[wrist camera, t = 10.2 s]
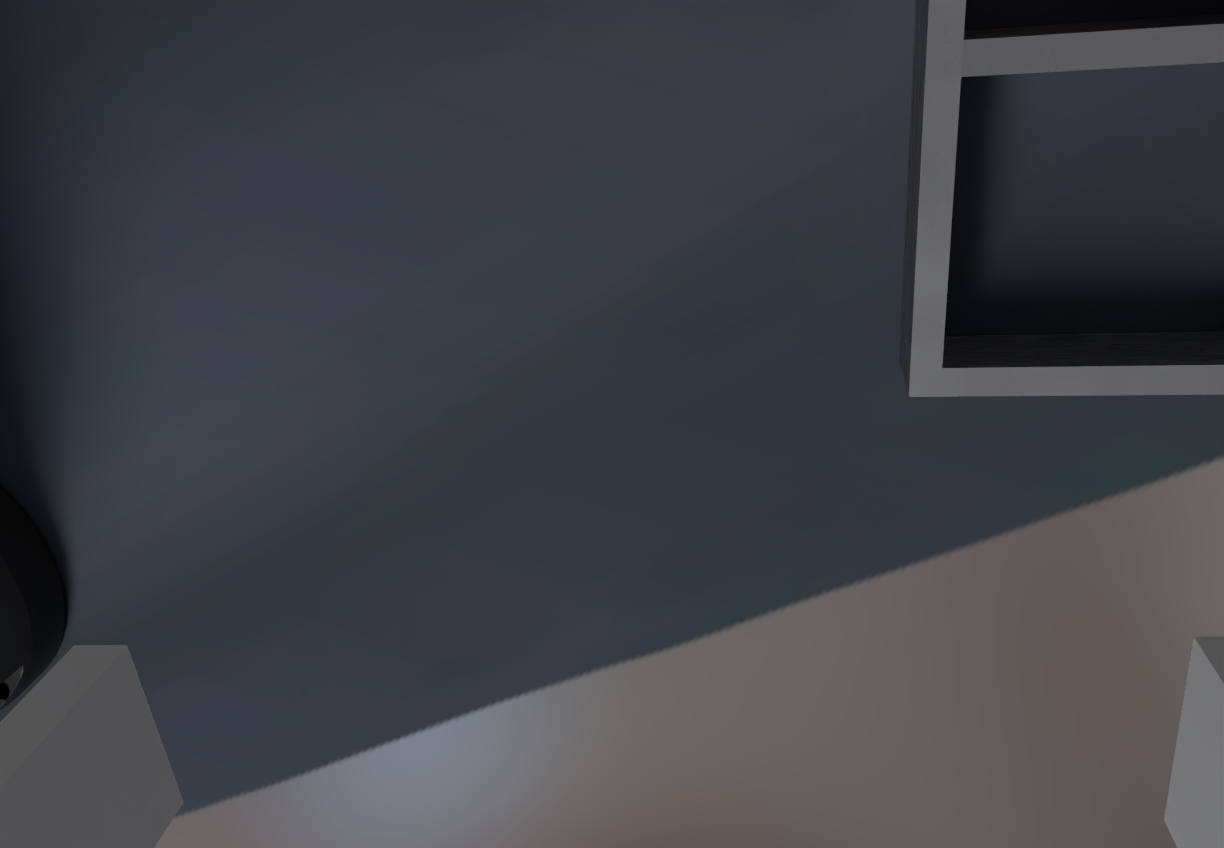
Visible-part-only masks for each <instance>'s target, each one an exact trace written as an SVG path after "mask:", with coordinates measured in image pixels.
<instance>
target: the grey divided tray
mask: <svg viewBox="0 0 1224 848" xmlns="http://www.w3.org/2000/svg"><path fill="white" fill-rule="evenodd" d="M965 10H966V0H917V1H916V23H915V44H914V66H913V88H912V109H911V131H910V152H909V174H908V196H907V217H906V239H905V260H904V282H903V304H902V325H901V347H900V366H901V369H902V373H903V377H904V381H905V384H906V388H907V392H908V395H909V397H935V396H1073V395H1211V394H1224V331H1199V332H1139V333H1079V334H1020V335H960V336H944V334H945V318H946V303H947V287H948V272H949V257H950V241H951V226H952V210H953V195H954V179H955V164H956V149H957V133H958V118H959V102H960V87H961V77H970V76H987V75H1005V74H1022V73H1040V72H1057V71H1075V70H1092V69H1110V68H1127V67H1145V66H1162V65H1180V64H1197V63H1215V62H1224V14H1210V15H1195V16H1179V17H1164V18H1148V19H1133V20H1117V21H1102V22H1086V23H1070V24H1055V25H1039V26H1024V27H1008V28H993V29H977V30H964V25H965Z"/></svg>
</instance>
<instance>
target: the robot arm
mask: <svg viewBox="0 0 1224 848" xmlns="http://www.w3.org/2000/svg"><path fill="white" fill-rule="evenodd" d="M64 623H65V605H64V597H63V591H62V587H61V582H60V579H59V576H58V573H57V570H56V567H55V565H54V562H53V560H52V557H51V555H50V553H49V551H48V549H47V547H46V545H45V544H44V542H43V540H42V538H41V537H40V535H39V533H38V532H37V530H36V529H35V527H34V526H33V524H32V523H31V522H30V520H29V519H28V518H27V516H26V515H25V514H24V513H23V511H22V510H21V509H20V508H19V506H18V505H17V504H16V503H15V502H14V501H13V500H12V499H11V497H10V496H9V495H8V494H7V493H6V492H5V491H4V490H3V489H2V488H1V487H0V710H1V709H3V708H4V707H6V706H7V705H8V704H10V703H11V702H12V701H13V700H15V699H16V698H17V697H18V696H19V695H20V694H21V693H22V692H23V691H24V690H25V689H26V688H27V687H28V686H29V685H30V684H31V683H32V682H33V681H34V680H35V679H36V678H37V677H38V676H39V675H40V674H41V673H42V672H43V671H44V670H45V669H46V668H47V667H48V665H49V664H50V663H51V661H52V660H53V658H54V656H55V655H56V652H57V650H58V648H59V646H60V643H61V640H62V635H63V631H64ZM182 804H183V800H182V797H181V794H180V792H179V789H178V786H177V783H176V780H175V778H174V775H173V772H172V769H171V766H170V764H169V761H168V758H167V755H166V753H165V750H164V747H163V744H162V741H161V739H160V736H159V733H158V730H157V727H156V725H155V722H154V719H153V716H152V714H151V711H150V708H149V705H148V702H147V700H146V697H145V694H144V691H143V689H142V686H141V683H140V680H139V677H138V675H137V672H136V669H135V666H134V663H133V661H132V658H131V655H130V652H129V650H128V647H127V645H74V646H73V647H72V648H71V649H70V650H69V651H68V652H67V654H66V655H65V656H64V657H63V658H62V659H61V660H60V661H59V662H58V663H57V664H56V665H55V666H54V667H53V668H52V669H51V670H50V671H49V672H48V673H47V674H46V675H45V676H44V677H43V678H42V680H41V681H40V682H39V683H38V684H37V685H36V686H35V687H34V688H33V689H32V690H31V691H30V692H29V693H28V694H27V695H26V696H25V697H24V698H23V699H22V700H21V701H20V702H19V703H18V704H17V706H16V707H15V708H14V709H13V710H12V711H11V712H10V713H9V714H8V715H7V716H6V717H5V718H4V719H3V720H2V721H1V722H0V848H154V847H155V845H156V844H157V842H158V840H159V839H160V837H161V836H162V834H163V833H164V831H165V830H166V828H167V827H168V825H169V824H170V822H171V821H172V819H173V818H174V816H175V815H176V813H177V812H178V810H179V809H180V807H181V806H182ZM1164 821H1165V823H1166V825H1167V827H1168V829H1169V831H1170V833H1171V835H1172V837H1173V840H1174V842H1175V844H1176V846H1177V848H1224V637H1194V639H1193V645H1192V652H1191V658H1190V664H1189V670H1188V676H1187V683H1186V688H1185V695H1184V701H1183V707H1182V713H1181V719H1180V725H1179V732H1178V738H1177V744H1176V750H1175V756H1174V762H1173V769H1172V775H1171V781H1170V788H1169V793H1168V799H1167V805H1166V812H1165V818H1164Z"/></svg>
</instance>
